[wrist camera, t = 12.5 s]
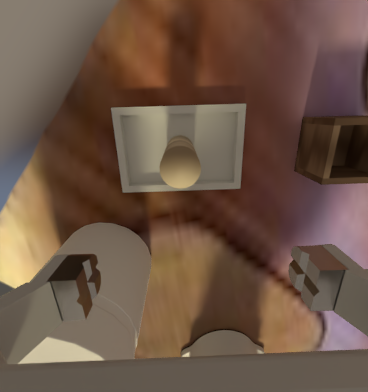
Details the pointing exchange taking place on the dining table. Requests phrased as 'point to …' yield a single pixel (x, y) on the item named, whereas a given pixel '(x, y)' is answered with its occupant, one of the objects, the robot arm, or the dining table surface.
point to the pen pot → (334, 149)
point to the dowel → (180, 163)
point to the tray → (173, 126)
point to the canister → (103, 299)
